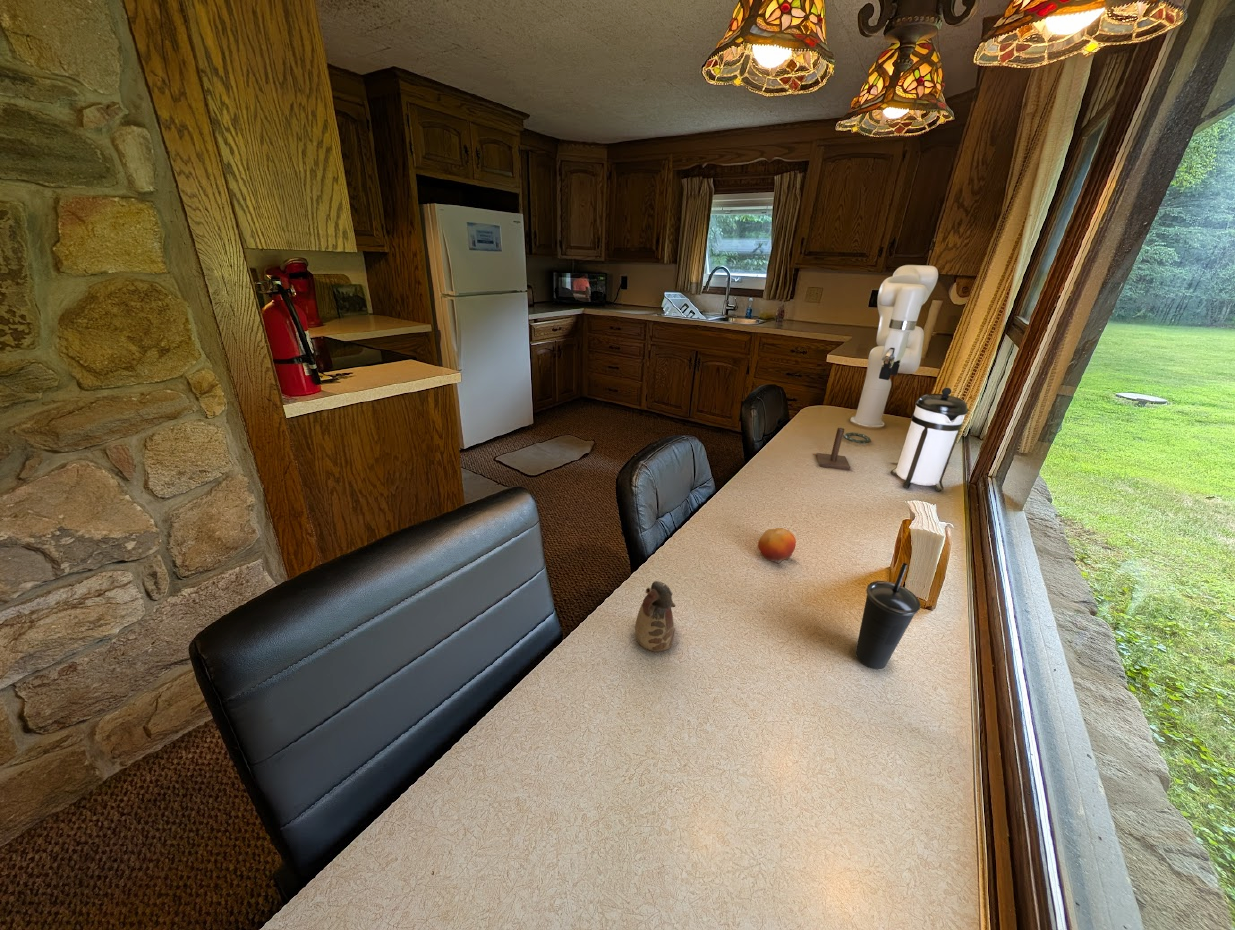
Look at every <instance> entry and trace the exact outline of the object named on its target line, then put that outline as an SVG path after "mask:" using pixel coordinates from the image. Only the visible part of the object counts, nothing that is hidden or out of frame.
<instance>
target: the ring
mask: <svg viewBox="0 0 1235 930" xmlns="http://www.w3.org/2000/svg"><path fill="white" fill-rule="evenodd" d="M852 436H854V437H859V438H863V439H857V438H852ZM842 438H843V439H845V440H847V441H849V442H853V443H856V444H869V443H871V441H872V440H871V438H870V437H869V436H868V435H866V434H863V433H859V432H846V433H843V437H842Z"/></svg>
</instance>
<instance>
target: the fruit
mask: <svg viewBox="0 0 1235 930" xmlns="http://www.w3.org/2000/svg"><path fill="white" fill-rule="evenodd" d="M796 545H797V541H796V537H795V535H794V534H793V533H792V532H791V531H790V530H788V529H786V528H784V527H776V528H768V529H766V530H765V531H764V532H763V534H762V535H760V537H759V539H758V542H757V548H758V551H759V553H760V555H762V556H763V557H764V558H766V559H767V560H768V561H772V562H775V563H777V564H781V562H783V561H784V560H786V559H788V560H790V561H793V559H792V558H791V557H792V556H793V554H794V552H795V550H796Z"/></svg>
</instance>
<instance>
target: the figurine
mask: <svg viewBox="0 0 1235 930" xmlns="http://www.w3.org/2000/svg"><path fill="white" fill-rule="evenodd" d="M645 593H646V595H645V597H644V598H643V600H642V603H641V605H640V607H639V610H638V613H637V616H636V620H635V625H634V630H635V631H634V636H635V639H636V641H637V643H638V644H639V645H640V646H641V647H642V648H644V649H645V650H648V651H650V652H654V653H656V652H664V651H667V650H668V649H670V648H671V647H672V645H673V642H674V637H675V632H676V629H675V623H674V613H673V611H672V608H676V607H677V606H676V605H677V604H675V603H674V602H673V599H672V597H673V592H672V589H671V588H670V587H669V585H668V584H666V583H665V582H663V581H659V580H655V581H653V582H652V583H651V585H650V587H647V588H646V589H645Z"/></svg>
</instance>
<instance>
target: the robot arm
mask: <svg viewBox="0 0 1235 930" xmlns="http://www.w3.org/2000/svg"><path fill="white" fill-rule="evenodd" d="M938 279H939V271H938V268H937V267H936V266H934V265H924V264H923V265H921V264H905V265H902V266H899V267H897V268H896V269H895V271H894V272H893V274H892V276H889V277H886V278H885V279H884V280H883V281H882V283H881V284H880V287H879V290H878V294H877V300H876V302H877V305H876V306H877V312H878V316H879V322H878V328H877V332H876V339H875V340H876V341H875V342H876V345H877V346H875V347H873V348H872V349H871V350H870V352H869V354H868V358H867V359H868V360H867V368H866V375H865V379H864V382H863V387H862V390H861V395H860V398H859V402H858V405H857V409H856V412H855V415H854V416H852V417H851V418H850V420H849V421H850V422H852V423H853V424H855V425H859V426H862V427H867V428H882V427H884V426H885V422H884V421H882V419H883V416H884V413H885V409H886V405H887V402H888V398H889V395H890V391H891V388H892V379H891V376H897V375H898V374H902V375H903V374H904V375H911V374H914V373H916V372H917V371H918V370H919V367H920V364H921V360H922V354H923V346H924V339H925V331H924V329H923V328H922V327H921V326H918V325H917V323H918V318H919V315H920V313H921V309H922V306H924V305H925V303H926V302H927V301H928V299H929V297H930V296H931V294H932V292H933V291H934V289H935V287H936V285H937V282H938Z"/></svg>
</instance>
